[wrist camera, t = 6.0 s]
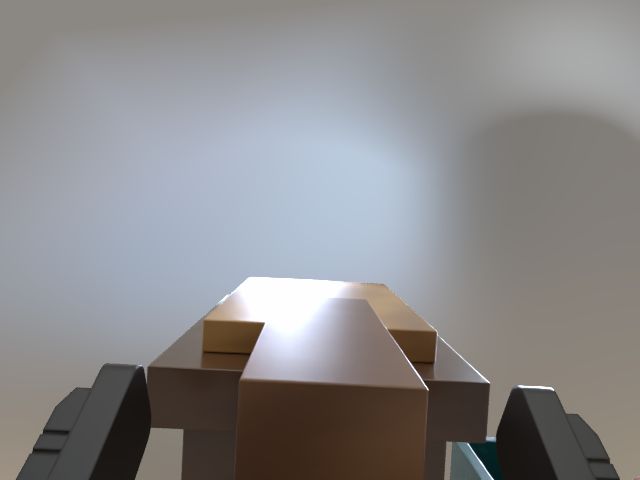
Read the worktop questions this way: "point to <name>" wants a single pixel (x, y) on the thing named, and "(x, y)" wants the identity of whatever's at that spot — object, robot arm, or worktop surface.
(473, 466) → the canister
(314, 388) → the lid
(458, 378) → the pedestal
